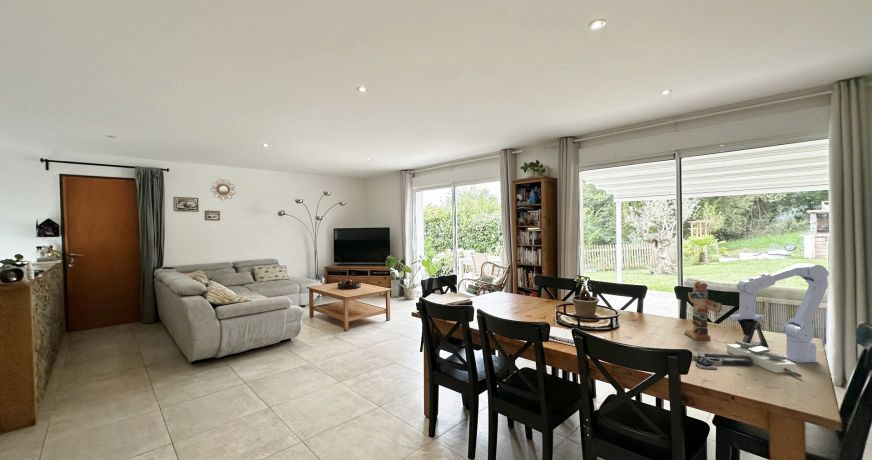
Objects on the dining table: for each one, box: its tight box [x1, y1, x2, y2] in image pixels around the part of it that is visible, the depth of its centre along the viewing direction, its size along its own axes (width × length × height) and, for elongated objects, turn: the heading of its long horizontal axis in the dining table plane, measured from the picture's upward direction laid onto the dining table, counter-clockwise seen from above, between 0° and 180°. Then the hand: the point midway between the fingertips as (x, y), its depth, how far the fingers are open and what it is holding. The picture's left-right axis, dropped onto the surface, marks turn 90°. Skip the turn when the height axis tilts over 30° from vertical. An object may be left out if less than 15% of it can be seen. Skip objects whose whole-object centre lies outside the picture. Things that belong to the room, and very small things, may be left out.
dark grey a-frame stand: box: [742, 319, 769, 348], centre depth 183 cm, size 9×6×12 cm, turn 59°
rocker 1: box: [734, 340, 756, 348], centre depth 168 cm, size 6×4×1 cm, turn 92°
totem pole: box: [684, 280, 723, 342], centre depth 194 cm, size 29×7×30 cm, turn 172°
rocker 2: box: [748, 346, 771, 354], centre depth 161 cm, size 6×4×1 cm, turn 91°
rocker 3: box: [763, 352, 786, 360], centre depth 154 cm, size 6×4×1 cm, turn 92°
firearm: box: [692, 351, 754, 370], centre depth 159 cm, size 3×24×15 cm
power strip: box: [726, 343, 802, 378], centre depth 159 cm, size 9×30×4 cm, turn 1°
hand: (746, 334), depth 167 cm, fingers closed
